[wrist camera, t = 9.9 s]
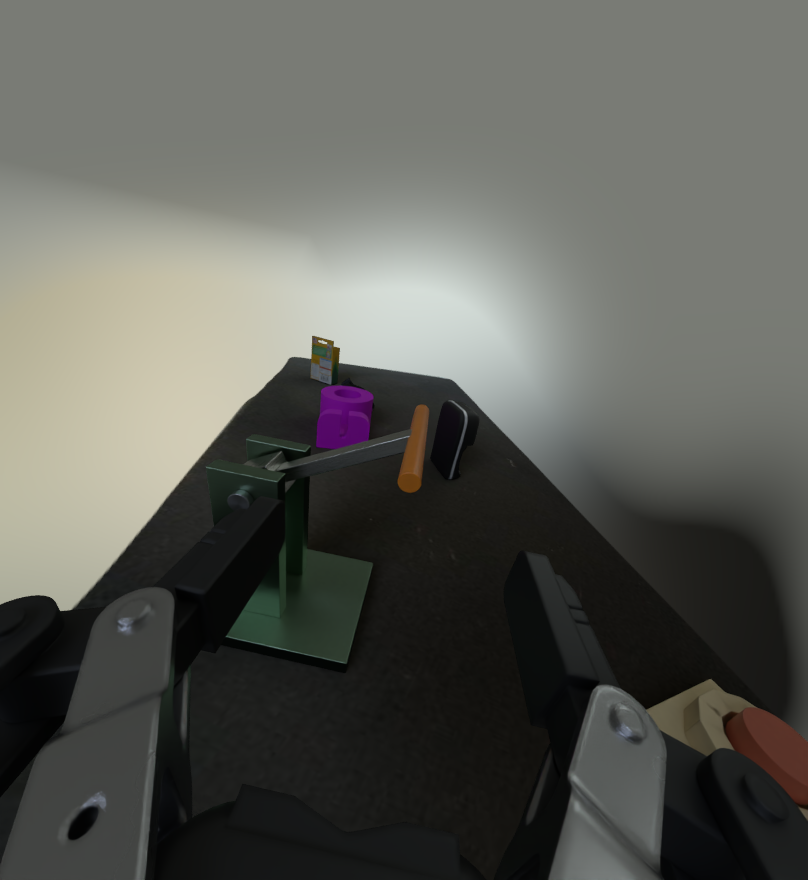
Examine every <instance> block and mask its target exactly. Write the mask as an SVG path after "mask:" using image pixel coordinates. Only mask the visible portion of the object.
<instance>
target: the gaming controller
mask: <svg viewBox="0 0 808 880" xmlns="http://www.w3.org/2000/svg"><path fill="white" fill-rule="evenodd" d="M341 386H350V387H356V388H360V389H363V388H362V387H359V386H357V385H354V384H353V383H352V382H351V381H350V378H348V379H347V380H345V381H344V382H342V384H341ZM363 390H365V389H363ZM374 406H375V405H374V403H373V404H372V411H373V409H374Z"/></svg>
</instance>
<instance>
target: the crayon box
mask: <svg viewBox="0 0 808 880" xmlns="http://www.w3.org/2000/svg"><path fill="white" fill-rule="evenodd" d="M318 340H323V341H325V342H327V344H322V343H319V342H318ZM333 344H334V341H331V340H327V339H323V338H319V337H315V336H312V358H311V379H315V380H318V381H321V382H324V383H327V384H329V385H332V384H336V383H337V379H338V366H339V352H340V348H337V347H333Z"/></svg>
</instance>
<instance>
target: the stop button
mask: <svg viewBox="0 0 808 880" xmlns="http://www.w3.org/2000/svg"><path fill="white" fill-rule="evenodd" d="M726 735H727V738H728V740H729V742H730V743H731V745H732V747H733V748H734V750H735V751H737V752H739V753H741V754H743V755H745V756H746V757H748V758H749V759H751V760H752V761H754V762H755V763H756V764H758V765H759V766H760V767H761V768H763V769H764V770H765V771H766V772H767V773H769V774H770V775H771V776H772V777H773V778H774V779H775V780H776V781H777V782H778V783H779V784H780V785H781V787H782V788H783V789H784V790H785V791H786V792H787V793H788V794H789V796H790V797H791V798H792V799H793V801H794V802H795V803H796V804H799V805H806V804H808V742H807V741H806V740H805V739H804V738H803V737H802V736H801V735H800V734H798V733H797V732H796V731H795V730H794V729H793V728H791V727H790V726H788V725H787V724H786V723H785V722H783V721H782V720H780V719H779V718H777V717H776V716H774V715H772V714H770V713H769V712H766V711H764V710H762V709H759V708H755V707H747V708H745V709H744V710H742V711H741V712H740V713H739V714H737V715H736V716H735V717H733V718H732V719H731V720H730V721H728V722H727V724H726Z"/></svg>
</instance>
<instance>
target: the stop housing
mask: <svg viewBox="0 0 808 880" xmlns="http://www.w3.org/2000/svg"><path fill="white" fill-rule="evenodd" d="M747 707H755V706H753V705H752V704H750V703H749V702H747V701H746V700H744V699H743V698H740V697H738V696H734V695H731V694H728V693H725V692H724V691H723V690H722V689H721V688H720V687H719V686H718V685H717V684H716V683H715V682H714V681H713V680H711V679H709V680H707V681H705V682H703V683H701V684H698V685H696V686H694V687H692V688H690V689H688V690H686V691H684V692H682V693H680V694H678V695H676V696H674V697H672V698H670V699H668V700H666V701H663V702H661V703H659V704H657V705H655V706H653V707H651V708H649V709H647V710H646V711H647V712H648V713H649V714H650V716H651V717H652V718H653V720H654V721H655V723H656V724H657V726H658V728H659V729H660V730H661V731H663V732H665V733H666V734H668V735H670V736H672V737H673V738H675V739H677V740H679V741H681V742H682V743H684V744H686V745H688V746H690V747H691V748H693V749H695V750H697V751H699V752H701V753H702V754H704V755H706V756H708V755H710V754H711V753H712V752H714V751H715V750H717V749H719V748H728V749H732V750H734V748H733V747H732V745H731V743H730V742H729V740H728V738H727V735H726V724H727V722H728V721H730V720H731V719H732V718H733V717H735V716H736V715H737V714H739V713H740V712H741V711H742V710H744V709H745V708H747ZM755 708H757V707H755ZM734 751H735V750H734ZM796 805H797V806H798V807H799V809H800V810H801V812H802V813H803V815H804V816H805V818H806V819H807V821H808V804H806V805H799V804H796Z"/></svg>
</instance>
